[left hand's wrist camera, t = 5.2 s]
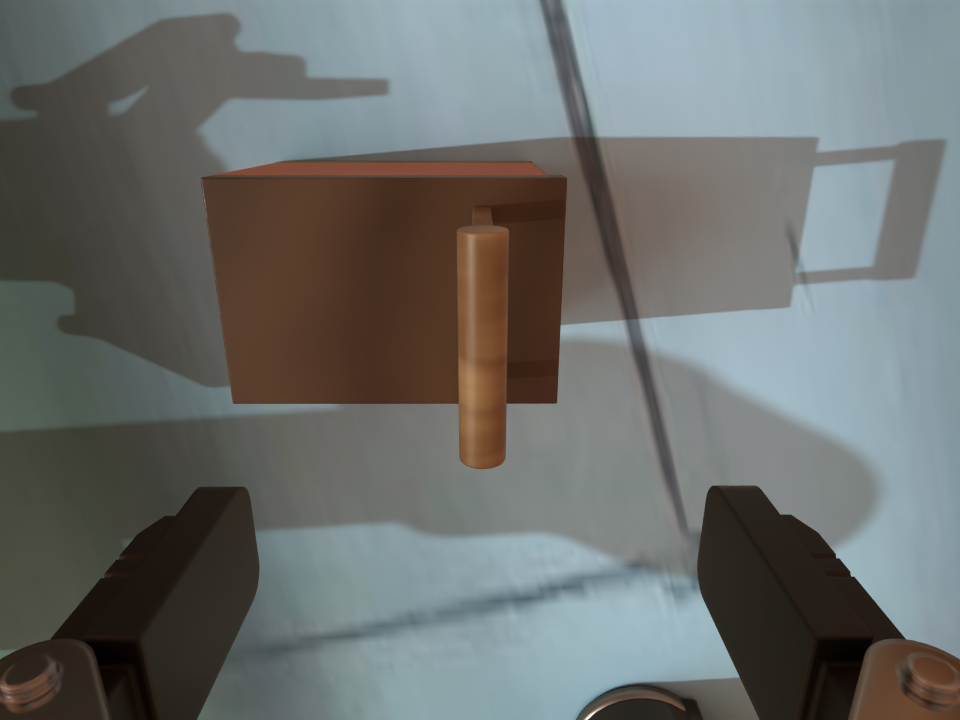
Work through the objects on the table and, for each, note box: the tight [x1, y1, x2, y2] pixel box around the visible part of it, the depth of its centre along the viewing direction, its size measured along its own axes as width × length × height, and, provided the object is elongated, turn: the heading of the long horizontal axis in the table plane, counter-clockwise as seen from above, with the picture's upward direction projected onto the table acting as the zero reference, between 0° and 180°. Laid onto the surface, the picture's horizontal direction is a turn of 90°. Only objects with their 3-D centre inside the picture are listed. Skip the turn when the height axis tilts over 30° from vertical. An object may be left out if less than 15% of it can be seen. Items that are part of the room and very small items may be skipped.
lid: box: [201, 175, 567, 469], centre depth 24 cm, size 14×10×9 cm
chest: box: [218, 161, 547, 175], centre depth 32 cm, size 14×10×10 cm
